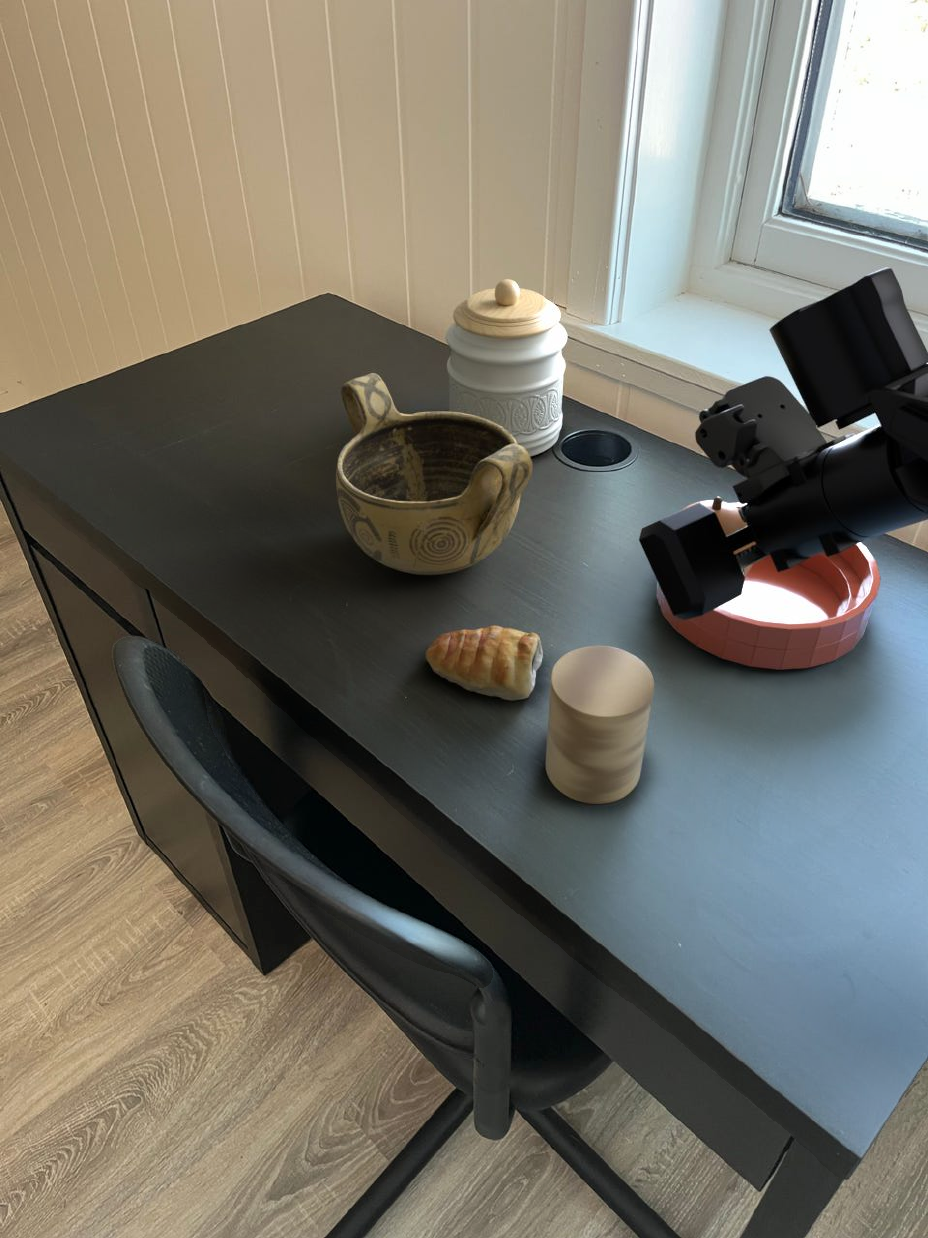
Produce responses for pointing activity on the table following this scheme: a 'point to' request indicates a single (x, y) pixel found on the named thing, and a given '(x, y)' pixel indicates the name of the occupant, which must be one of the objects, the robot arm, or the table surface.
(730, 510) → the peach
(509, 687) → the pastry
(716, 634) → the bowl
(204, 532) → the table surface
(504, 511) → the ceramic bowl
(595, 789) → the wooden cylinder
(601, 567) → the table surface
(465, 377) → the jar
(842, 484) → the robot arm
